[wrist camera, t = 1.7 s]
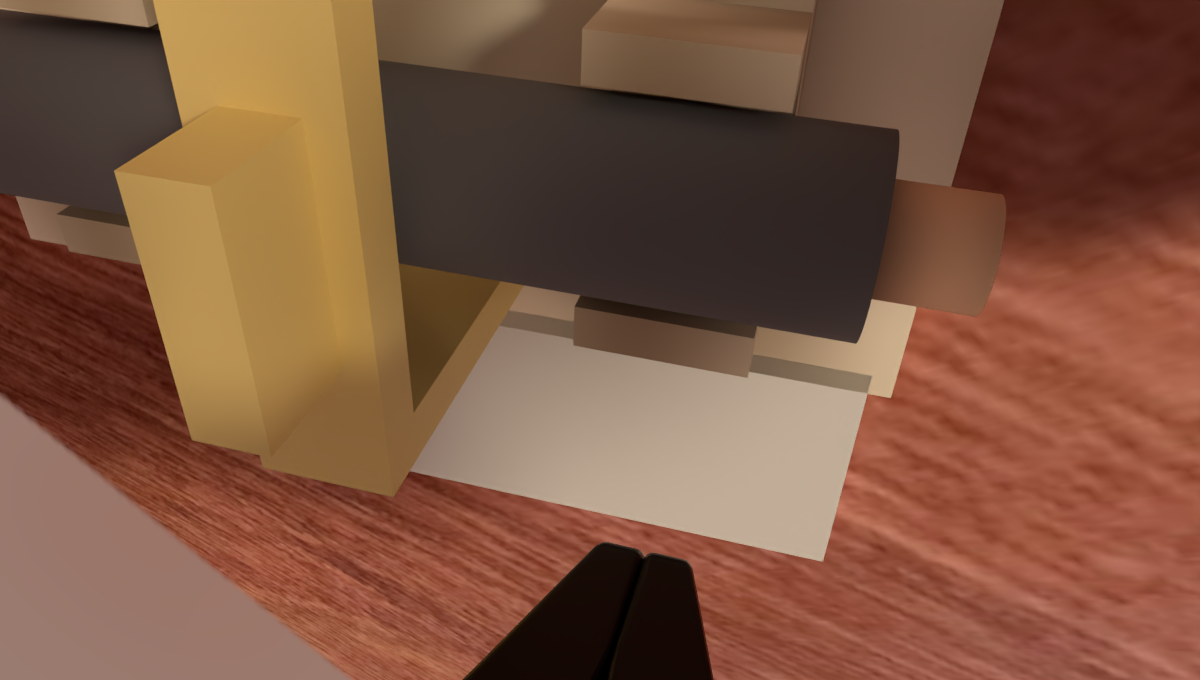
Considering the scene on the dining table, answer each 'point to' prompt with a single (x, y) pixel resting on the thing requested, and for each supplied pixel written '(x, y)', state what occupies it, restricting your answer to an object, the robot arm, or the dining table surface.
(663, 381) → the mat
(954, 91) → the holder
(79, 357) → the dining table surface
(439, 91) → the dark grey cylinder rod
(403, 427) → the strap
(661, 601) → the robot arm
